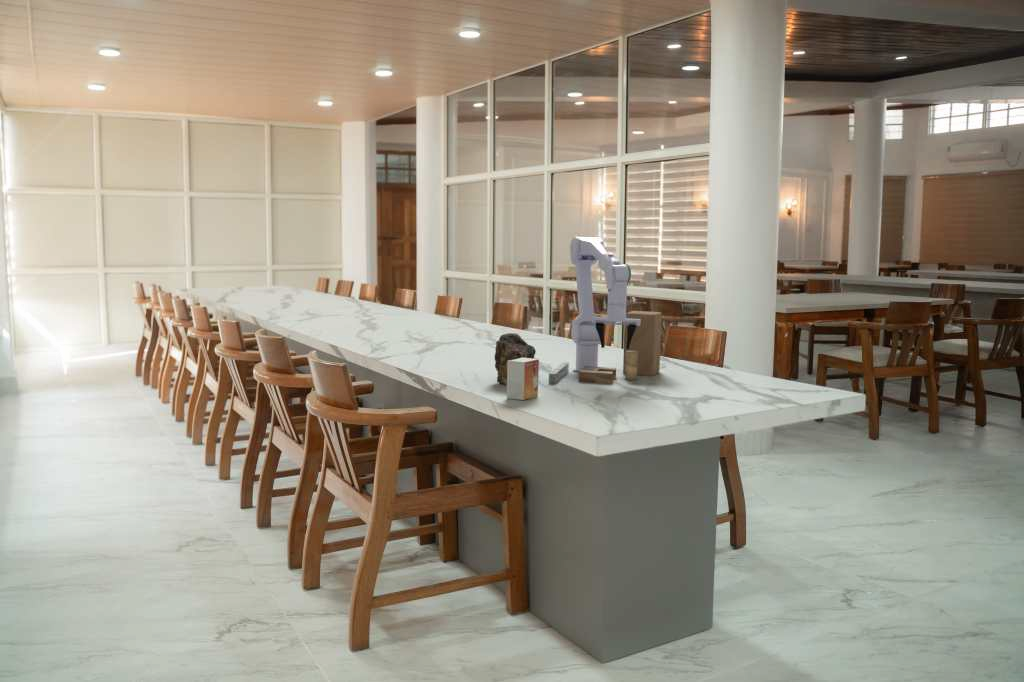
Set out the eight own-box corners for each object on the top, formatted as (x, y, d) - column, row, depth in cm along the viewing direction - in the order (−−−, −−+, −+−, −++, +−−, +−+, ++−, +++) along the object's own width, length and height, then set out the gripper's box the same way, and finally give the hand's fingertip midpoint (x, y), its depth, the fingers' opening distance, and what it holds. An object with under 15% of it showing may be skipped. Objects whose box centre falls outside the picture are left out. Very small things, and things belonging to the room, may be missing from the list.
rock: (513, 393, 249) (478, 377, 259) (542, 388, 258) (507, 373, 268) (521, 346, 246) (485, 332, 255) (550, 343, 255) (514, 329, 265)
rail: (562, 371, 280) (562, 362, 280) (568, 371, 280) (568, 362, 279) (548, 383, 257) (549, 373, 257) (555, 383, 256) (555, 374, 256)
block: (584, 375, 272) (584, 366, 272) (615, 377, 270) (616, 367, 270) (578, 381, 261) (579, 371, 260) (611, 383, 259) (611, 373, 258)
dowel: (625, 378, 268) (626, 350, 267) (637, 379, 268) (638, 351, 266) (624, 380, 265) (625, 351, 264) (636, 381, 264) (637, 352, 263)
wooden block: (622, 374, 277) (624, 312, 275) (630, 369, 287) (632, 310, 284) (652, 376, 274) (655, 314, 271) (659, 372, 283) (662, 312, 281)
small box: (523, 400, 229) (524, 362, 228) (506, 398, 232) (506, 360, 231) (538, 396, 236) (539, 358, 235) (521, 394, 239) (522, 357, 238)
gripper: (591, 304, 258) (589, 348, 260) (639, 306, 255) (637, 351, 256) (594, 302, 265) (593, 345, 267) (641, 304, 262) (640, 348, 263)
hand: (615, 348), depth 262 cm, fingers open, 7 cm apart
